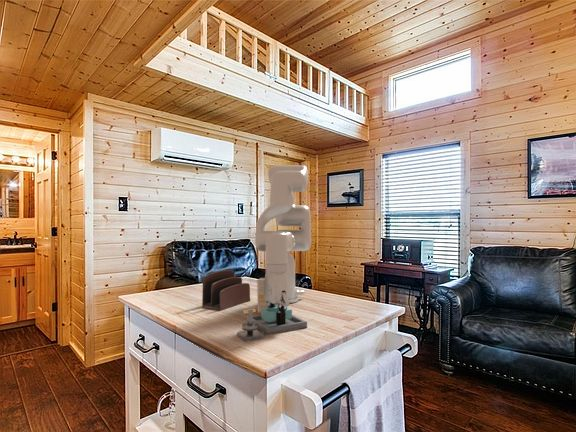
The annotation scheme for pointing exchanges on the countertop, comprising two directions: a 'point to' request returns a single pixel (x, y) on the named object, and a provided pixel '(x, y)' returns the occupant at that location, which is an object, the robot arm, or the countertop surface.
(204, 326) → the countertop surface
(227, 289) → the letter holder
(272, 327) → the tray
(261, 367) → the countertop surface
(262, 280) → the supplement box
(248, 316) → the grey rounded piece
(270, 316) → the teal rectangular frame
